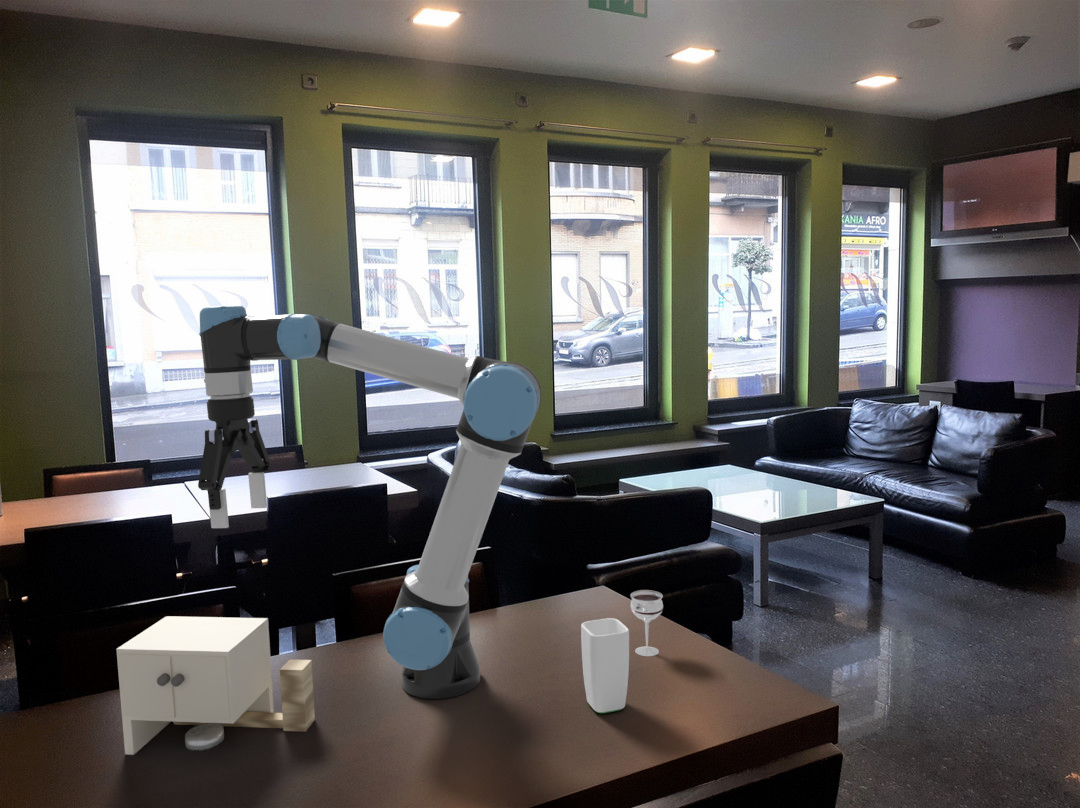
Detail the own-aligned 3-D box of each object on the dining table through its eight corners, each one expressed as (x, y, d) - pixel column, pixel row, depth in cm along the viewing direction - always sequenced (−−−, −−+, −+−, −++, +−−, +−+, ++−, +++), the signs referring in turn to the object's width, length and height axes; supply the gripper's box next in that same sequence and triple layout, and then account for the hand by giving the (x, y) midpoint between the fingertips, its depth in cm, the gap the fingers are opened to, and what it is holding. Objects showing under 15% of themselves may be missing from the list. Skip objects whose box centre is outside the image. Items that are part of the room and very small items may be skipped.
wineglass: (640, 641, 169) (640, 587, 167) (669, 649, 165) (668, 593, 163) (624, 653, 163) (624, 597, 162) (653, 660, 159) (653, 603, 158)
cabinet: (273, 715, 140) (267, 618, 138) (231, 764, 125) (223, 655, 123) (173, 711, 142) (166, 616, 141) (119, 759, 127) (110, 652, 125)
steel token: (230, 733, 135) (230, 723, 135) (212, 752, 129) (212, 742, 129) (197, 732, 136) (197, 722, 136) (178, 751, 130) (177, 741, 130)
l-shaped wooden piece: (314, 719, 139) (311, 659, 137) (305, 731, 135) (302, 670, 133) (183, 715, 141) (179, 656, 140) (170, 726, 137) (166, 666, 136)
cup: (632, 712, 139) (632, 631, 137) (594, 719, 136) (593, 637, 135) (616, 694, 146) (615, 616, 144) (579, 700, 143) (578, 622, 142)
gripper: (245, 390, 148) (254, 500, 150) (166, 405, 123) (179, 537, 125) (283, 388, 147) (292, 500, 149) (211, 403, 122) (223, 536, 124)
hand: (240, 517), depth 137 cm, fingers open, 13 cm apart
